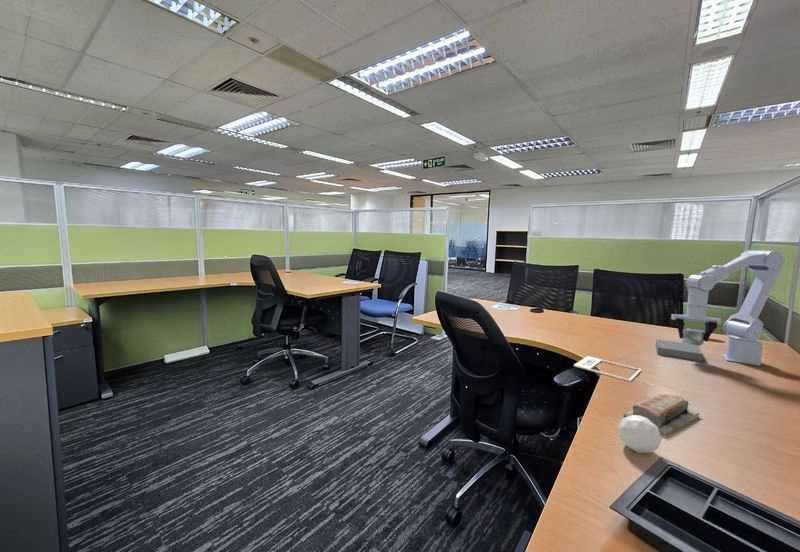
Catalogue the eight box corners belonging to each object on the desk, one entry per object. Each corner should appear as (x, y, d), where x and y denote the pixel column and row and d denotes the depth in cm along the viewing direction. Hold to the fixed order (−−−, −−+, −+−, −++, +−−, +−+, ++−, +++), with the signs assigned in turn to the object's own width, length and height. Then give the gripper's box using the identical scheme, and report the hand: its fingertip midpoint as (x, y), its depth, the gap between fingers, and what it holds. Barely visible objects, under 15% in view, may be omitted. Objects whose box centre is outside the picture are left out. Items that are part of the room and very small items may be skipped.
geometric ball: (630, 454, 77) (631, 419, 80) (669, 462, 70) (669, 423, 73) (609, 443, 74) (611, 408, 78) (647, 450, 68) (648, 411, 71)
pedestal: (696, 352, 141) (697, 345, 140) (702, 361, 129) (703, 354, 129) (655, 345, 149) (656, 339, 148) (657, 354, 137) (657, 347, 137)
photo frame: (587, 355, 133) (641, 368, 120) (587, 358, 133) (641, 371, 120) (573, 364, 123) (630, 379, 110) (573, 367, 123) (630, 383, 110)
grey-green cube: (703, 343, 130) (704, 331, 129) (699, 345, 127) (700, 333, 126) (686, 340, 134) (687, 328, 133) (682, 342, 131) (683, 330, 130)
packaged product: (669, 418, 79) (624, 400, 88) (667, 437, 80) (622, 418, 88) (701, 401, 88) (657, 386, 96) (699, 418, 88) (656, 402, 97)
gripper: (718, 305, 129) (714, 339, 130) (671, 302, 136) (667, 334, 137) (724, 309, 123) (720, 344, 124) (675, 304, 130) (671, 338, 131)
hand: (693, 339), depth 130 cm, fingers closed on grey-green cube, 7 cm apart
